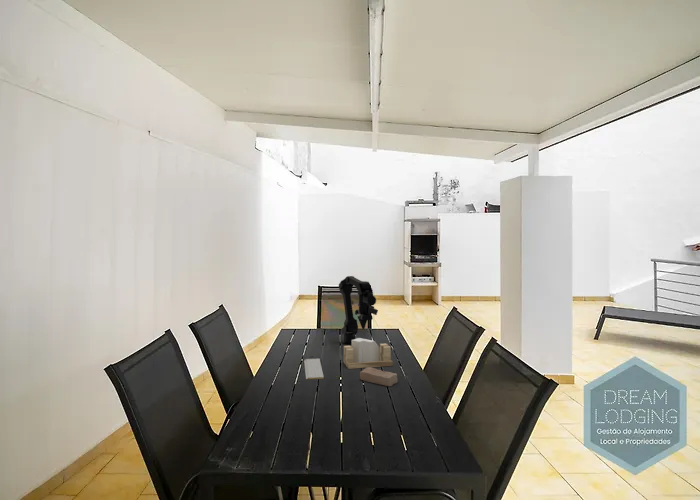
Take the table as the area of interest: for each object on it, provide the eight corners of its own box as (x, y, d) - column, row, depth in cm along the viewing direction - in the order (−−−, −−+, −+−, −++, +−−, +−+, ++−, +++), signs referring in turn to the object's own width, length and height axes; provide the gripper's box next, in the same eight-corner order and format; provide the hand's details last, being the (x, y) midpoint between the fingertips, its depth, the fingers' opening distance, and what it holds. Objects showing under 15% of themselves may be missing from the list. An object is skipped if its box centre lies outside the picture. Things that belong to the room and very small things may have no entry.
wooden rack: (343, 362, 233) (343, 345, 232) (385, 359, 238) (386, 343, 238) (348, 368, 221) (348, 351, 221) (392, 365, 227) (392, 349, 226)
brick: (398, 382, 203) (398, 372, 203) (389, 387, 196) (389, 377, 196) (368, 375, 212) (368, 366, 212) (359, 380, 205) (359, 370, 205)
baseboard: (302, 380, 205) (323, 380, 207) (302, 375, 205) (323, 374, 207) (301, 361, 235) (319, 361, 237) (301, 356, 235) (319, 356, 236)
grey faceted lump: (351, 361, 233) (351, 340, 233) (364, 357, 242) (364, 336, 242) (366, 365, 227) (367, 343, 226) (379, 360, 235) (379, 339, 235)
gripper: (381, 305, 247) (381, 331, 248) (372, 300, 265) (372, 325, 266) (362, 305, 245) (362, 332, 245) (354, 300, 263) (354, 325, 263)
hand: (363, 328), depth 255 cm, fingers closed
